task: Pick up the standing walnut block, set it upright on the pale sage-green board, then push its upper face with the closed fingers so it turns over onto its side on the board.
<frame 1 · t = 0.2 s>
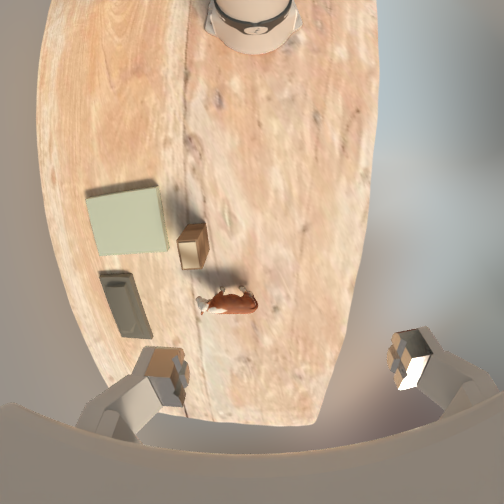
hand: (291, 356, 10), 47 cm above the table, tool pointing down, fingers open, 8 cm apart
bull figurine: (229, 291, 65), on the table
soap mold: (128, 305, 68), on the table
board: (127, 221, 58), on the table
block: (198, 237, 59), on the table
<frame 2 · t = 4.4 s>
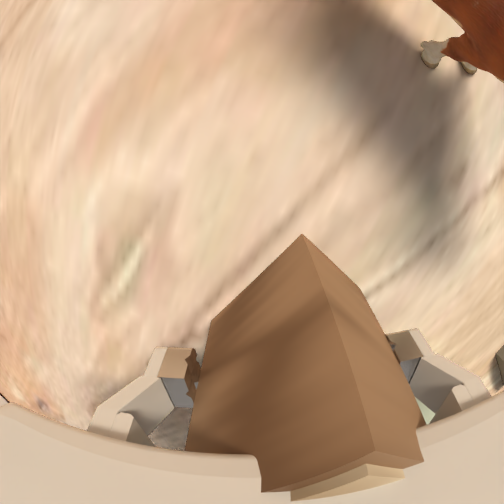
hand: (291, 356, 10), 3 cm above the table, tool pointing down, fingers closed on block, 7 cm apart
bull figurine: (416, 24, 7), on the table
block: (285, 306, 13), on the table, touching gripper
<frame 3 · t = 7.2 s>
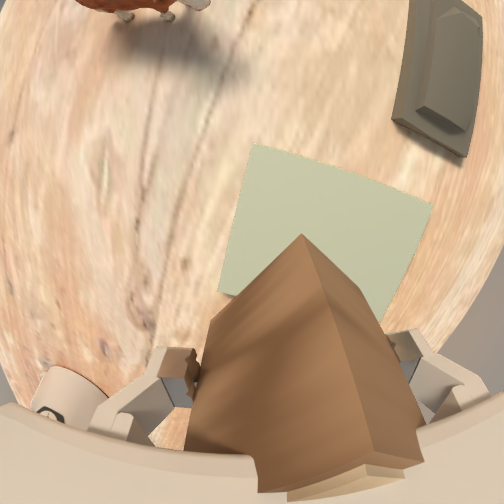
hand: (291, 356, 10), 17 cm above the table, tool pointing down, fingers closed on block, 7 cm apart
bull figurine: (160, 9, 17), on the table
soap mold: (439, 58, 18), on the table
board: (326, 239, 26), on the table
block: (284, 306, 13), point 14 cm above the table, touching gripper
when the fingers open (6 cm above the table, at t = 10.1 s): block stays where it is, resting on board.
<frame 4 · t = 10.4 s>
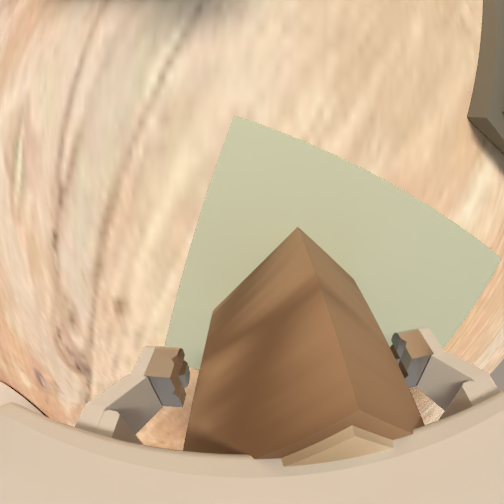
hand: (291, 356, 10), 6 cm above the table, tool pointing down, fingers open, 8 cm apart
board: (342, 296, 16), on the table
block: (282, 296, 14), point 2 cm above the table, touching board
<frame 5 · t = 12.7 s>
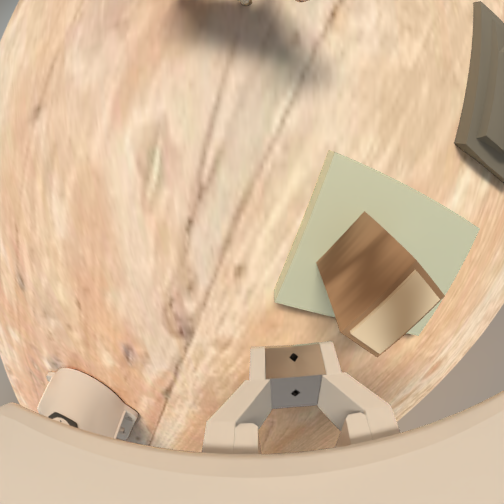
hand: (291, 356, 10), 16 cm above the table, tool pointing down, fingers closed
soap mold: (493, 88, 17), on the table
board: (383, 254, 25), on the table
block: (355, 251, 23), point 2 cm above the table, touching board
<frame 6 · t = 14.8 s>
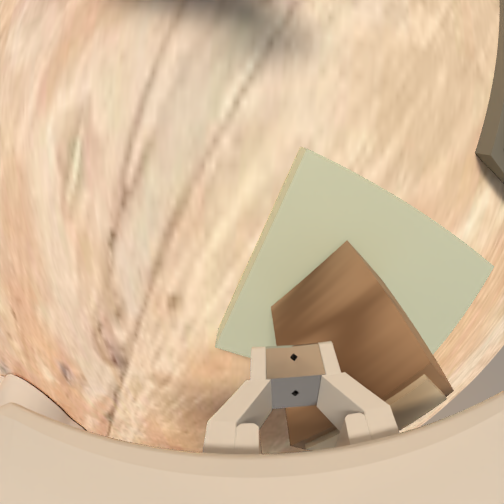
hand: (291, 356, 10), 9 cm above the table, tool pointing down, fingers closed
board: (368, 294, 19), on the table
block: (328, 293, 16), point 2 cm above the table, touching board, gripper
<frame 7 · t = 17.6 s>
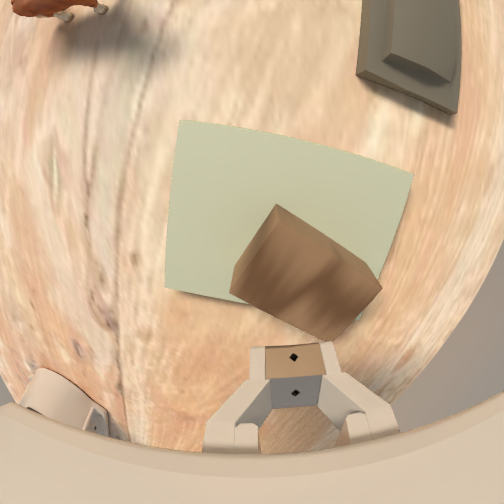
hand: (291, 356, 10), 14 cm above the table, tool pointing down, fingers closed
bull figurine: (96, 4, 14), on the table
soap mold: (409, 7, 14), on the table
board: (283, 223, 23), on the table
block: (253, 246, 19), point 4 cm above the table, tilted 90°, touching board
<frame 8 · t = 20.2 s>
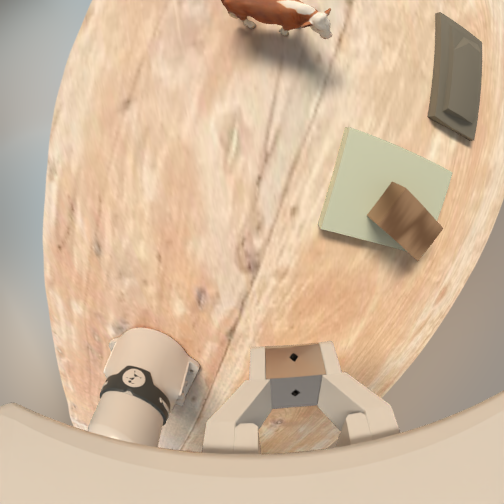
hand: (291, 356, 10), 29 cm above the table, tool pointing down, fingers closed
bull figurine: (275, 25, 27), on the table
soap mold: (454, 75, 28), on the table
board: (388, 194, 36), on the table
block: (385, 202, 32), point 4 cm above the table, tilted 90°, touching board
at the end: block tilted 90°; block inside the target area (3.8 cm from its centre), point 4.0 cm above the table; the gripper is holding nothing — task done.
